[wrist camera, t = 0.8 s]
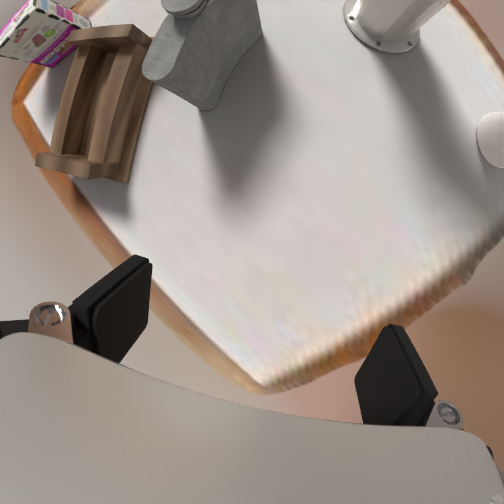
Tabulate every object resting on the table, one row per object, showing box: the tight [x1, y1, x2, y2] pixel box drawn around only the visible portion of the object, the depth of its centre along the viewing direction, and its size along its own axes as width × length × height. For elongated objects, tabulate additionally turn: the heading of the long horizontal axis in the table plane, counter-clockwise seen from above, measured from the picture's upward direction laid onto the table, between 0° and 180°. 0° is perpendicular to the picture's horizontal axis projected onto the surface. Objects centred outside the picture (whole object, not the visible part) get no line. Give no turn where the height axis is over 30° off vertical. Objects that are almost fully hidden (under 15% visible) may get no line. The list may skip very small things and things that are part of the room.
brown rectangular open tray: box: [35, 24, 154, 183], centre depth 33 cm, size 15×24×9 cm, turn 164°
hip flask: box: [142, 0, 262, 111], centre depth 25 cm, size 16×4×20 cm, turn 151°
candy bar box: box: [0, 0, 91, 68], centre depth 26 cm, size 11×5×16 cm, turn 111°
